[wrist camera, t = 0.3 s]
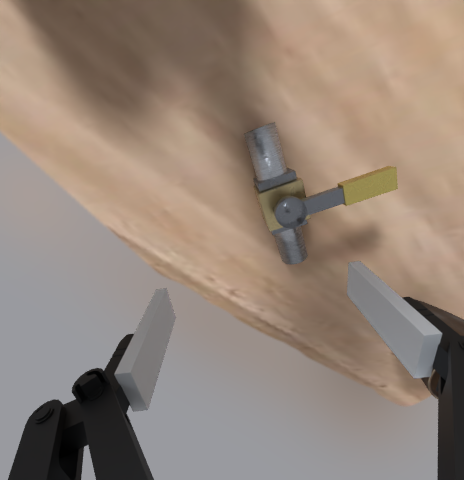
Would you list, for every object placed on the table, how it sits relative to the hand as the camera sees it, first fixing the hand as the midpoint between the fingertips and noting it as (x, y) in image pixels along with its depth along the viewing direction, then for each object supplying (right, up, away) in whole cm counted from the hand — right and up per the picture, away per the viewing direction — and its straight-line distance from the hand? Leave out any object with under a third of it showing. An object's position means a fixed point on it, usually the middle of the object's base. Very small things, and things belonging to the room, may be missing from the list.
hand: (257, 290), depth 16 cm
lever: (+12, +10, +16) cm, 23 cm away
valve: (+6, +12, +26) cm, 29 cm away
